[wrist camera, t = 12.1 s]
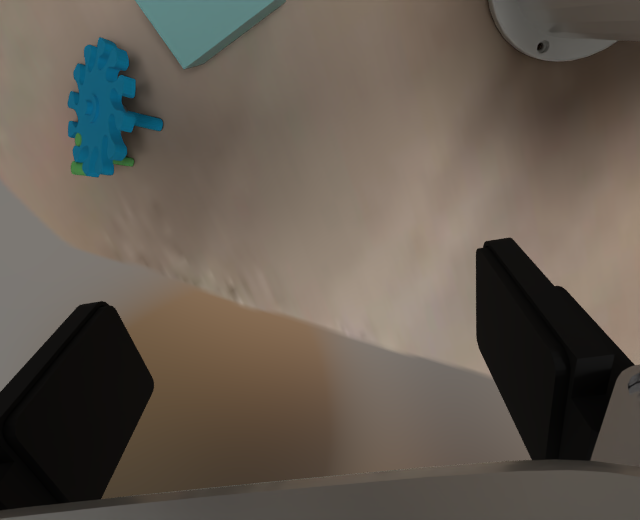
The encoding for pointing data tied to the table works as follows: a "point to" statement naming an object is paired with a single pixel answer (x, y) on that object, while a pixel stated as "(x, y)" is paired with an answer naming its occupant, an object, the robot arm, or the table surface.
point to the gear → (103, 111)
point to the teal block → (203, 24)
